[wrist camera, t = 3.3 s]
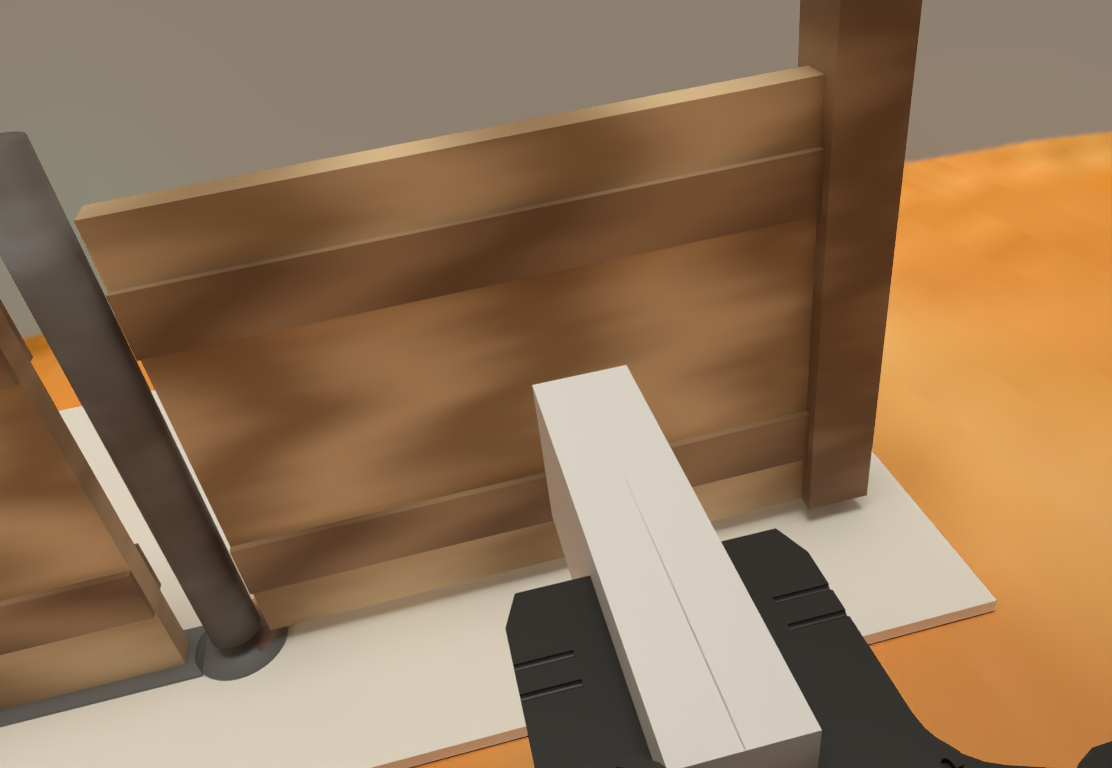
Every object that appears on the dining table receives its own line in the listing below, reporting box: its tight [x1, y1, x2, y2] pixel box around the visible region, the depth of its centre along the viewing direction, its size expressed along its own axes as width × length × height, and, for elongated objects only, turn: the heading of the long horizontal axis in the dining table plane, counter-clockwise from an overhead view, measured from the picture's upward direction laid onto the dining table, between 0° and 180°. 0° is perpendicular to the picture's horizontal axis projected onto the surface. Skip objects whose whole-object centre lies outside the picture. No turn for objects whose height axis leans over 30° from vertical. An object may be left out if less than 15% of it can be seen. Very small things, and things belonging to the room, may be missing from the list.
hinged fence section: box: [0, 0, 922, 649], centre depth 21 cm, size 19×2×14 cm, turn 102°
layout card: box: [0, 390, 997, 768], centre depth 29 cm, size 36×20×1 cm, turn 102°
